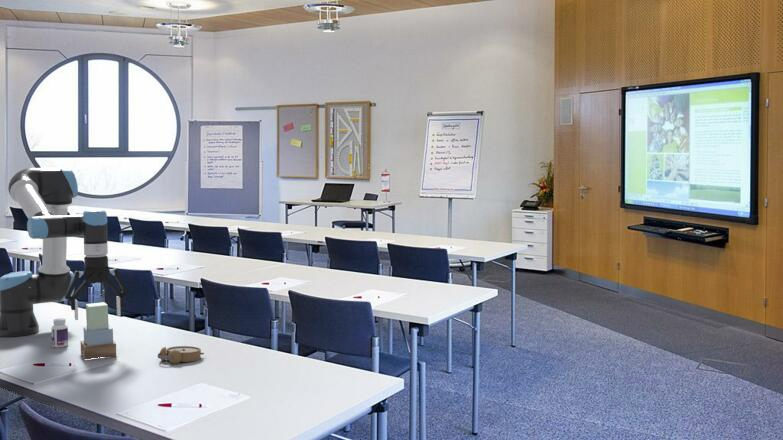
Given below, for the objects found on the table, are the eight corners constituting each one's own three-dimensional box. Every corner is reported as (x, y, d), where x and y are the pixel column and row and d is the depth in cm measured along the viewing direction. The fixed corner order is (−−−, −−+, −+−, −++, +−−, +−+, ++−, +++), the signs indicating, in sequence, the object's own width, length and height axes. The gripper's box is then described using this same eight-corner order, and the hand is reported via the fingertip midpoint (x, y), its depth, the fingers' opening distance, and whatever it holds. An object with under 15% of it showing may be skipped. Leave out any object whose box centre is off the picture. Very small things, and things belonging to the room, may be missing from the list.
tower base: (80, 355, 260) (80, 340, 260) (111, 351, 265) (110, 337, 265) (84, 361, 252) (84, 347, 251) (116, 358, 257) (115, 343, 256)
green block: (86, 327, 259) (85, 304, 258) (105, 324, 262) (104, 302, 261) (90, 330, 254) (88, 307, 253) (108, 328, 257) (107, 305, 256)
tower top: (83, 341, 259) (83, 327, 259) (108, 338, 264) (107, 324, 263) (88, 346, 253) (87, 331, 252) (113, 343, 257) (112, 328, 256)
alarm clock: (208, 350, 255) (170, 350, 244) (206, 364, 255) (168, 366, 244) (188, 344, 262) (151, 345, 251) (187, 359, 262) (149, 359, 251)
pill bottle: (71, 344, 274) (70, 318, 273) (63, 348, 269) (62, 321, 268) (57, 344, 275) (56, 317, 274) (49, 347, 269) (48, 320, 269)
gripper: (57, 259, 246) (59, 323, 248) (136, 254, 259) (137, 315, 260) (54, 256, 253) (56, 319, 255) (132, 252, 265) (133, 311, 267)
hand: (97, 317), depth 257 cm, fingers open, 13 cm apart
